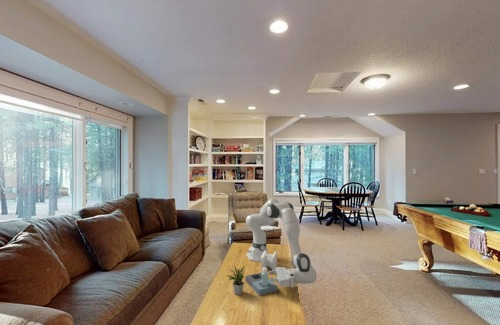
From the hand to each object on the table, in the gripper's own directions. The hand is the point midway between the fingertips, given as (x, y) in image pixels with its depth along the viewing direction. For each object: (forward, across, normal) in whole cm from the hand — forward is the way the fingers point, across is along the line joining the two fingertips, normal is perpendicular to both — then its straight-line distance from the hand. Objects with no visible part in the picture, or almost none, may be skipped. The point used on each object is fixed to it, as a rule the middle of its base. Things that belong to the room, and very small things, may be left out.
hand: (269, 275), depth 157 cm
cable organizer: (-2, -34, +9) cm, 35 cm away
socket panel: (+6, -6, +9) cm, 12 cm away
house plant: (+20, +2, +9) cm, 22 cm away
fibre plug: (+3, 0, +9) cm, 10 cm away
